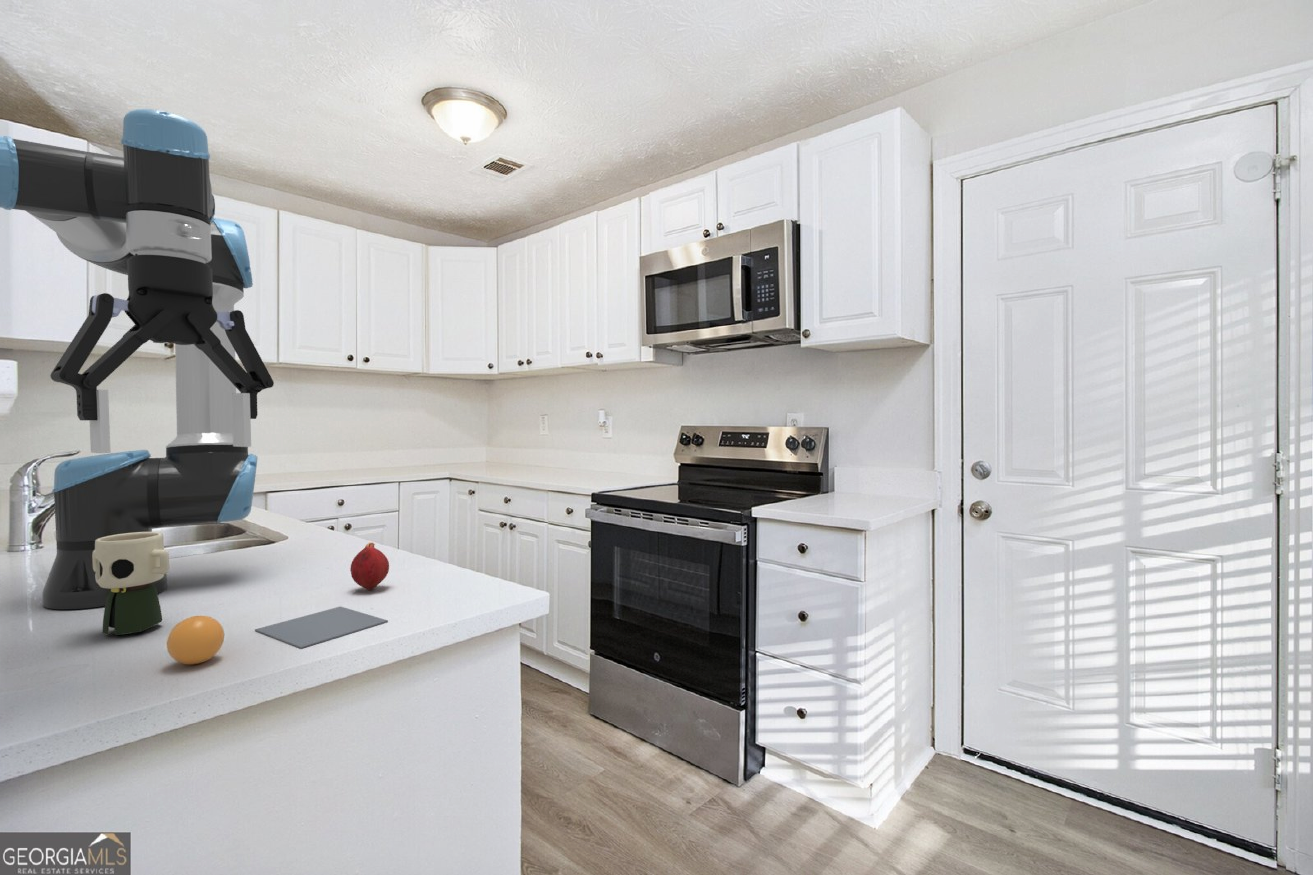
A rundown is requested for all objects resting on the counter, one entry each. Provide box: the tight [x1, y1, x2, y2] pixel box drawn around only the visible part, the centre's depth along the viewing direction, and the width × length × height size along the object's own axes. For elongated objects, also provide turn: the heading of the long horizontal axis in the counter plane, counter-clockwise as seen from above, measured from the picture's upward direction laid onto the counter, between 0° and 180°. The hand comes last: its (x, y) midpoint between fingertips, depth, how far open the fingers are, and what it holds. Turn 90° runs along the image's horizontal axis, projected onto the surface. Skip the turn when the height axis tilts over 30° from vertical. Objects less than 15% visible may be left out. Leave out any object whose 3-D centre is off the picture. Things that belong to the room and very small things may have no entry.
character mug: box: [92, 531, 170, 636], centre depth 85 cm, size 11×7×13 cm, turn 85°
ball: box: [166, 615, 225, 665], centre depth 74 cm, size 6×6×6 cm
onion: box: [350, 541, 390, 591], centre depth 104 cm, size 6×6×8 cm
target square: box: [254, 605, 389, 649], centre depth 87 cm, size 12×12×1 cm
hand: (177, 449), depth 71 cm, fingers open, 13 cm apart
